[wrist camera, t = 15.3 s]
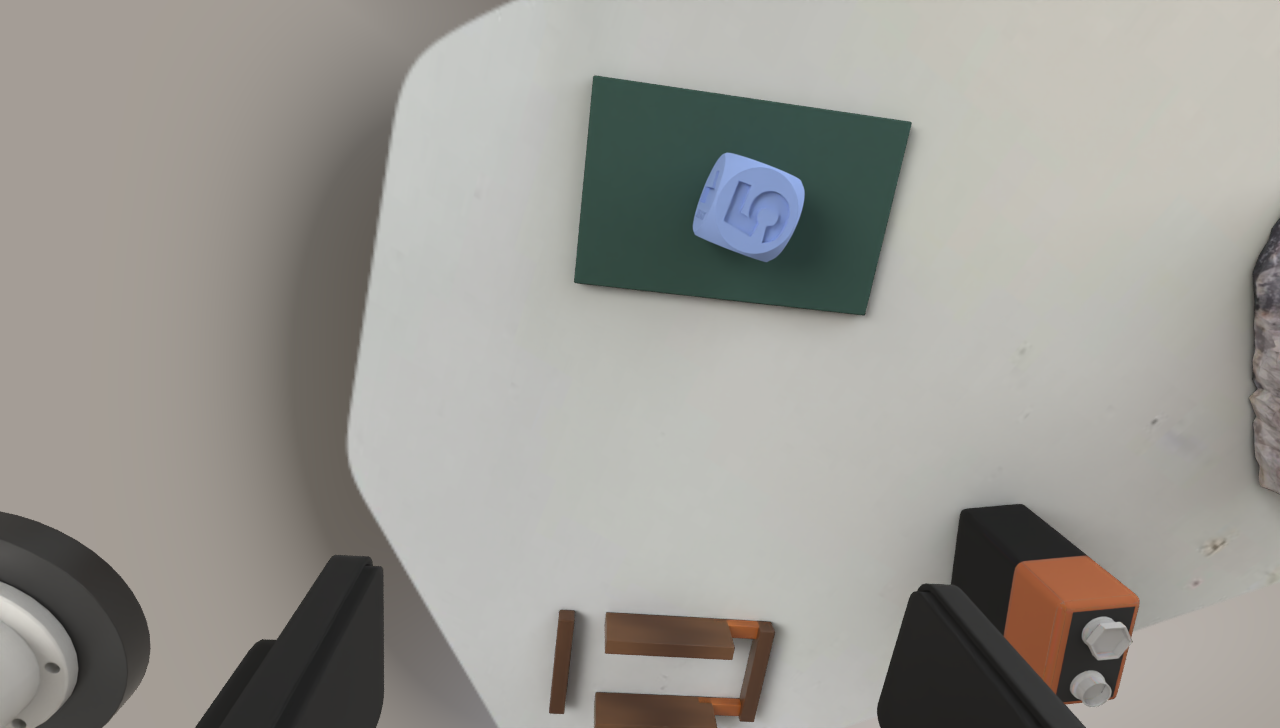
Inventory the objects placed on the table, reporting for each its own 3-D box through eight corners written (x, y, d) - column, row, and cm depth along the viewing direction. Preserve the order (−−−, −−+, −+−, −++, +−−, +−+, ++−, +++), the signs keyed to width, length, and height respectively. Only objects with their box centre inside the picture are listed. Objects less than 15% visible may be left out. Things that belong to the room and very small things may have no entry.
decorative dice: (716, 152, 30) (733, 150, 26) (788, 181, 31) (815, 183, 27) (687, 229, 31) (699, 238, 28) (757, 255, 32) (779, 268, 28)
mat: (574, 280, 32) (574, 283, 32) (593, 76, 29) (593, 75, 29) (860, 313, 34) (864, 315, 33) (906, 122, 31) (912, 121, 30)
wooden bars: (550, 701, 41) (547, 734, 39) (559, 609, 39) (557, 638, 37) (750, 709, 43) (759, 742, 40) (771, 621, 40) (781, 650, 38)
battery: (1023, 500, 39) (1162, 609, 29) (1009, 588, 41) (1134, 717, 31) (957, 506, 38) (1074, 618, 29) (946, 594, 41) (1052, 726, 31)
